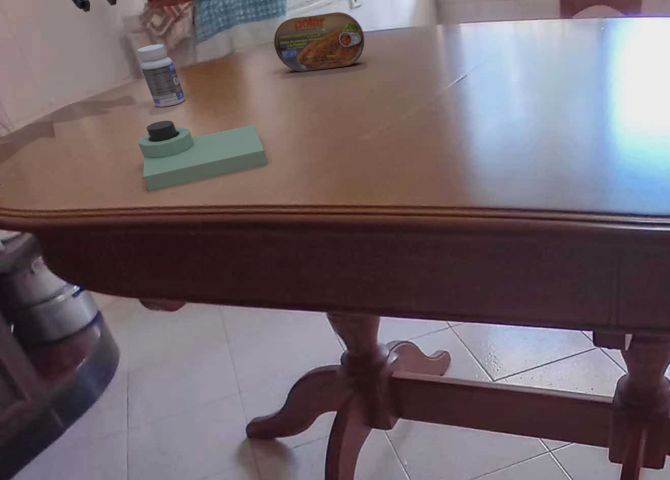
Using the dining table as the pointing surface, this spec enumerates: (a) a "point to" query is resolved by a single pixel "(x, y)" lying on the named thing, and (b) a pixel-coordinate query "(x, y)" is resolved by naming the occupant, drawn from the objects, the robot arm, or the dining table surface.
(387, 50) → the dining table surface
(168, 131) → the button
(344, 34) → the tin
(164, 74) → the pill bottle
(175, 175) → the scale
